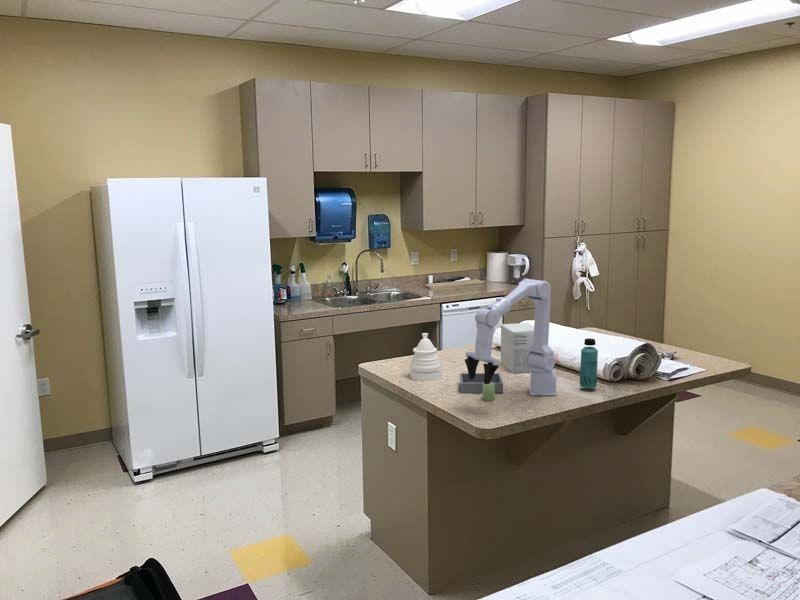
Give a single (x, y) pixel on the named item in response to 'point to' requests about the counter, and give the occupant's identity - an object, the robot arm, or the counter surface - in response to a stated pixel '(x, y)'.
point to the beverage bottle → (588, 365)
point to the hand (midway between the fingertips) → (479, 381)
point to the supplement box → (516, 346)
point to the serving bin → (479, 383)
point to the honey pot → (425, 361)
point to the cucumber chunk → (489, 392)
